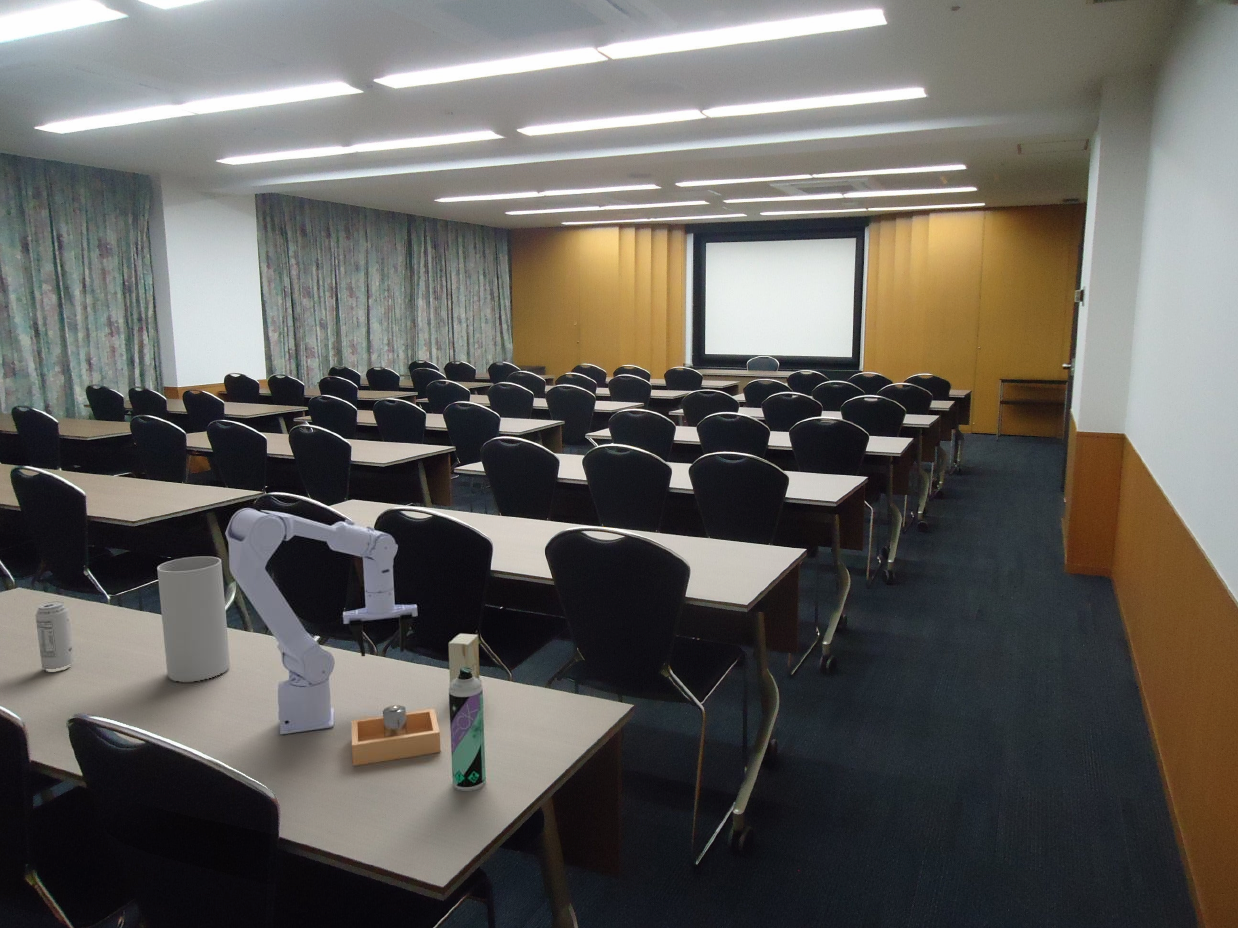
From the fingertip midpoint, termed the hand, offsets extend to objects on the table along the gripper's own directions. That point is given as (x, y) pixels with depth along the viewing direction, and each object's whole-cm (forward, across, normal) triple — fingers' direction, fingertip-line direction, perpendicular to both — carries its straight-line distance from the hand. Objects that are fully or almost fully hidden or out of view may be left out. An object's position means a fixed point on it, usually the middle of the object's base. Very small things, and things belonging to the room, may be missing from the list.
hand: (382, 652), depth 172 cm
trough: (+9, -1, +23) cm, 25 cm away
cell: (+9, -1, +23) cm, 24 cm away
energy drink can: (+10, +70, -39) cm, 81 cm away
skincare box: (+10, -16, +5) cm, 19 cm away
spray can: (+10, -12, +40) cm, 43 cm away
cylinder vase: (+10, +39, -26) cm, 48 cm away
